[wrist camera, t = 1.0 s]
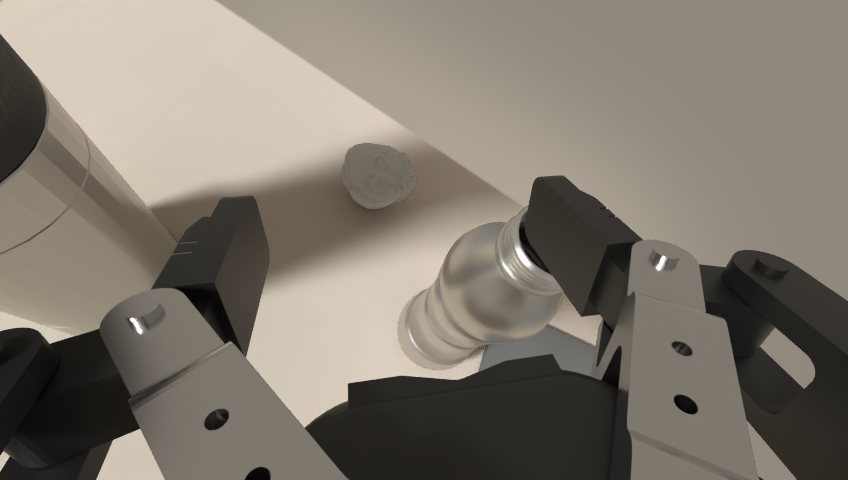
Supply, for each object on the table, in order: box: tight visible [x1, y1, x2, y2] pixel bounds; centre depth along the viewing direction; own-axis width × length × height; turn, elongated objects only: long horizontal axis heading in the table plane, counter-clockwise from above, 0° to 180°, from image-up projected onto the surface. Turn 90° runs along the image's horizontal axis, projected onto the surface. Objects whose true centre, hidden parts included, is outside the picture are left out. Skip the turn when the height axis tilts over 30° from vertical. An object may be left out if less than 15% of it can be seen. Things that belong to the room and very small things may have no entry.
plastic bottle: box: [398, 205, 564, 370], centre depth 24 cm, size 6×7×20 cm
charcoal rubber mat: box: [478, 326, 595, 376], centre depth 30 cm, size 10×24×1 cm, turn 158°
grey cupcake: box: [341, 143, 417, 209], centre depth 34 cm, size 6×7×7 cm
